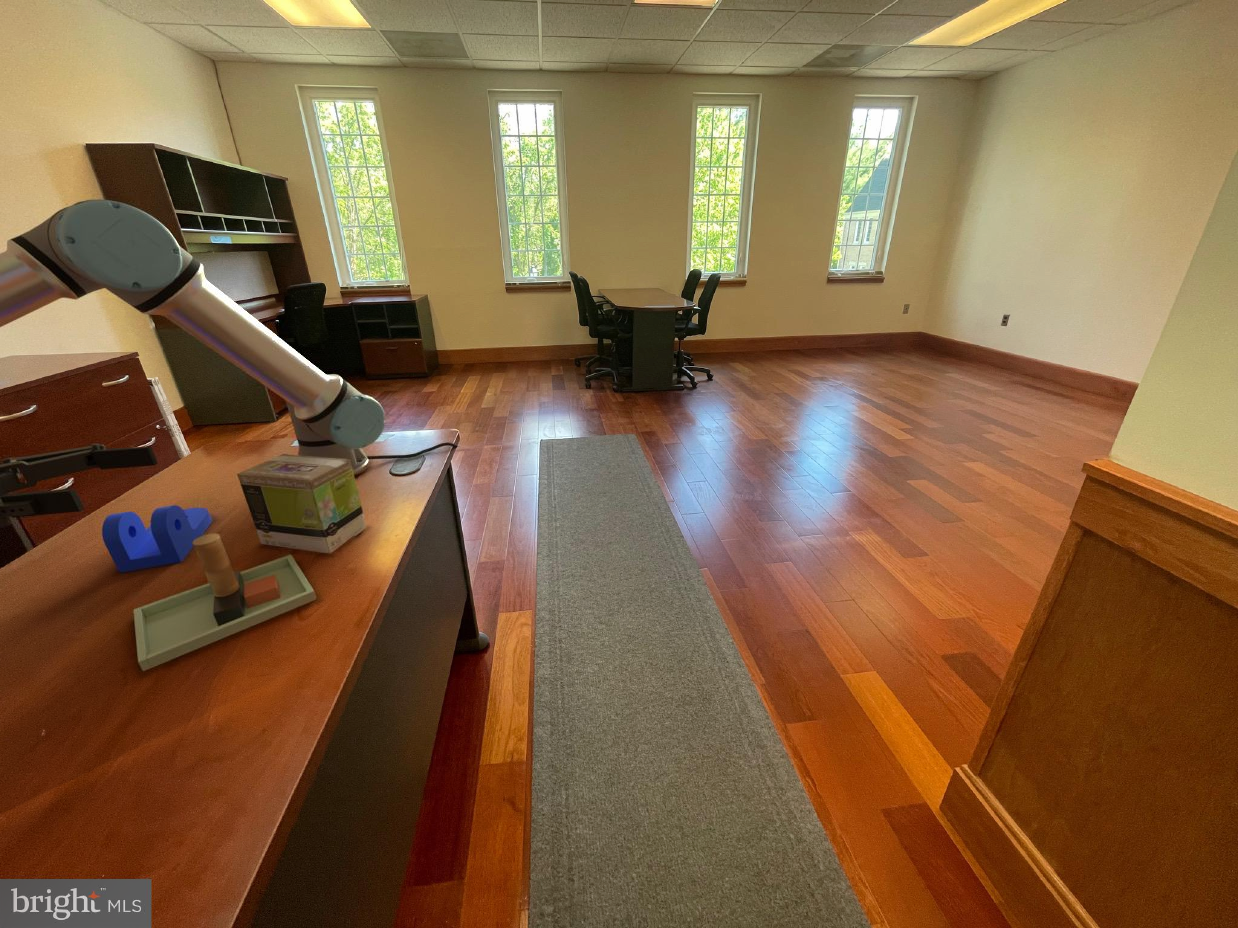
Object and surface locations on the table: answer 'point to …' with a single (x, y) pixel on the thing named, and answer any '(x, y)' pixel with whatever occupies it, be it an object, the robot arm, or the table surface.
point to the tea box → (303, 502)
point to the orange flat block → (261, 591)
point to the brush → (221, 579)
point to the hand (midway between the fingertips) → (119, 475)
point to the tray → (211, 614)
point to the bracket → (153, 536)
